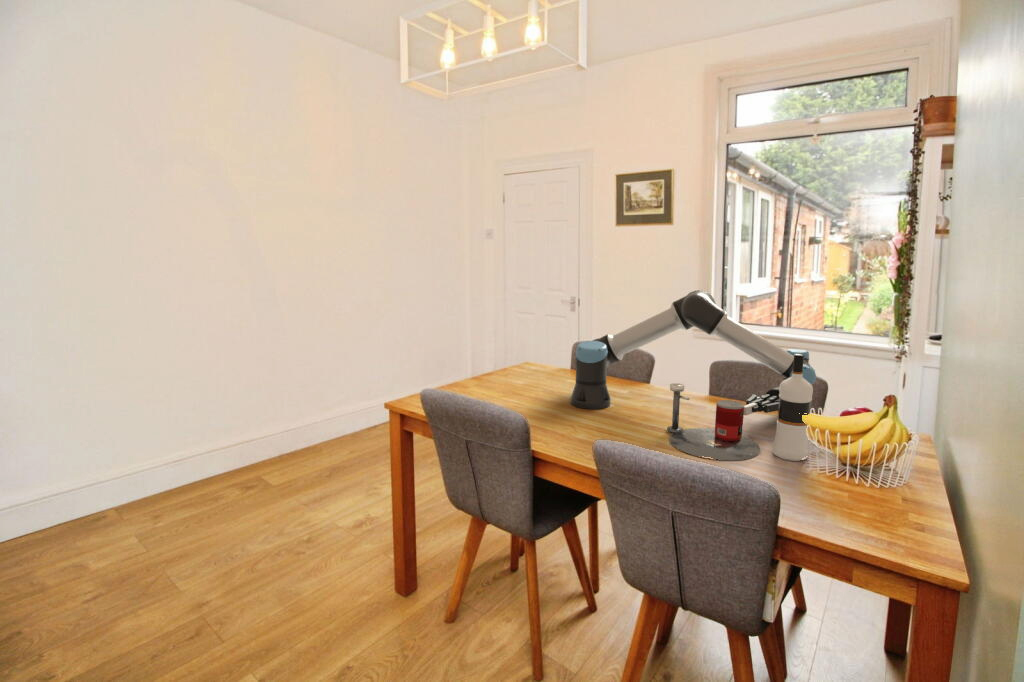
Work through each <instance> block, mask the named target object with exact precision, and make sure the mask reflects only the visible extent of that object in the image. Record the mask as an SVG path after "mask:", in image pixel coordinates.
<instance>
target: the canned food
mask: <svg viewBox="0 0 1024 682" xmlns="http://www.w3.org/2000/svg"><path fill="white" fill-rule="evenodd" d="M744 406H745V404H744V403H742V402H740V401H736V400H727V399H721V400H718V401H716V407H715V421H714V422H715V423H714V429H715V436H716V437H717V438H719V439H722V440H726V441H738V440H740V439H741V437H742V435H743V427H744V426H743V425H744V416H745V415H744Z"/></svg>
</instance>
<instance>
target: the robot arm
mask: <svg viewBox="0 0 1024 682" xmlns="http://www.w3.org/2000/svg"><path fill="white" fill-rule="evenodd" d="M691 328H697V329H699V330H701V331H702V332H705V333H706V334H708V335H709V336H713V335H715V336H717V337H718V338H720V339H721V340H724V341H725V342H726V343H728V344H730V345H732V346H733V347H734V348H736V349H738V350H740V351H741V352H743V353H745V354H746V355H747V356H749V357H751V358H753V360H754V359H755V360H757V362H760V363H761V364H762V365H765V366H766V367H767V368H769V369H771V370H773V371H774V372H776V373H778V374H780V375H781V377H783V379H782V381H784V380H786V379H788V378H790V377H792V371H793V360H794V354H803V355H804V362H803V376H802V377H803V378H804V379H805V380H806V381H808V382H809V383H810V384H811V385H812V386H813V385H814V384H815V382H816V379H817V374H816V370H815V368H814V367H812V366H811V365H810V353H809V351H807V350H805V349H801V348H800V349H799V348H789V349H787V350H785V349H783V348H781V347H780V346H777V345H776V344H775V343H774V342H771V341H769V340H768V339H767V338H765V337H763V336H762V335H760V334H758V333H757V332H755V331H754V330H751V328H748V327H747V326H744V325H743V324H742V323H740V322H739V321H736V320H735V319H733V318H731V317H730V316H728V313H727V311H726V310H725V309H722V308H721V307H720V306H718V305H717V302H716V300H715V298H714V297H713V296H712V295H711V294H710V293H709V292H708V291H705V290H693V291H690V292H689V293H688V294H686V295H685V296H683V297H680V298H679V299H677V300H675V301H673V302H672V303H671V305H670V307H669V308H668V309H666V310H663V311H661V312H660V313H657V314H656V315H653V316H651V317H649V318H647V319H645V320H643V321H641V322H639V323H637V324H634V325H632V326H631V327H628V328H626V329H624V330H621V331H620V332H618V333H616V334H611V333H608V334H605V335H603V336H601V337H600V338H599V337H598V338H595V339H593V340H586V341H583V342H580V343H578V344H577V346H576V348H575V384H574V386H573V390H572V393H571V396H570V404H571V405H572V406H574V407H576V408H579V409H585V410H601V409H606V408H608V407H610V406H611V396H610V393H609V389H608V386H607V375H608V373H607V368H609V366H612V365H614V364H616V363H619V362H620V361H622V360H623V359H624V356H625V355H626V354H628V353H631V352H633V351H634V350H637V349H639V348H641V347H643V346H646V345H648V344H650V343H652V342H654V341H656V340H659V339H660V338H663V337H665V336H667V335H669V334H671V333H673V332H676V331H678V330H680V329H682V330H685V331H687V330H689V329H691ZM779 387H780V385H779V386H777V387H773V388H771V389H769V390H768V391H767V392H766V393H765V394H761V395H760V396H758V395H756V394H755V393H753V394H751V396H750V397H749V398H748V399H746V401H745V404H744V415H743V416H749V415H752V414H754V413H761V412H763V413H765V414H766V413H771V412H772V413H773V412H778V407H779V394H780V391H779Z"/></svg>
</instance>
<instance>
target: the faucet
mask: <svg viewBox="0 0 1024 682" xmlns="http://www.w3.org/2000/svg"><path fill="white" fill-rule="evenodd" d="M669 391H672V392H673V395H672V396H673V397H672V399H673V400H672V401H673V402H672V418H671V419H672V421H671V425H668V426H667V428H666V431H668V433H669V432H670V433H669V434H672V433H682V432H683V430H684V428H683V427H681V426H679V425H680V422H679V420H680V405H681V404H680V403H681V399H682V400H686V401H690V400H691V399H690V397H688V396H687V397H686V396H683V395H681V393H683V392H685V384H683V383H678V382H677V383H670V385H669Z"/></svg>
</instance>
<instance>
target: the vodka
mask: <svg viewBox="0 0 1024 682" xmlns="http://www.w3.org/2000/svg"><path fill="white" fill-rule="evenodd" d="M803 362H804V355H803V354H794V360H793V371H792V377H790V378H788V379H786V380H784V381H783V380H782V381H781V382H780V384H779V386H780V387H779V386H778V387H779V391H780V394H779V407H778V411H777V419H776V421H775V422H776V430H775V437H774V442H773V444H772V449H771V450H772V453H773V455H774V456H776V457H777V458H779V459H782V460H785V461H790V462H801V461H800V460H801V459H802V458H804V457H806V456H808V454H809V453H810V451H809V436H808V437H807V435H806V428H807V425H806V424H805V423H804V422H803V421H802V415H808V414H811V405H812V401H813V393H814V389H813V388H814V387H813V384H812V385H811V384H810V383H809V382H808V381H806V380H805V379H804V378H803V377H802V376H803ZM799 413H800V414H799ZM804 413H807V414H804ZM809 455H810V454H809ZM808 457H809V456H808Z"/></svg>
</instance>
